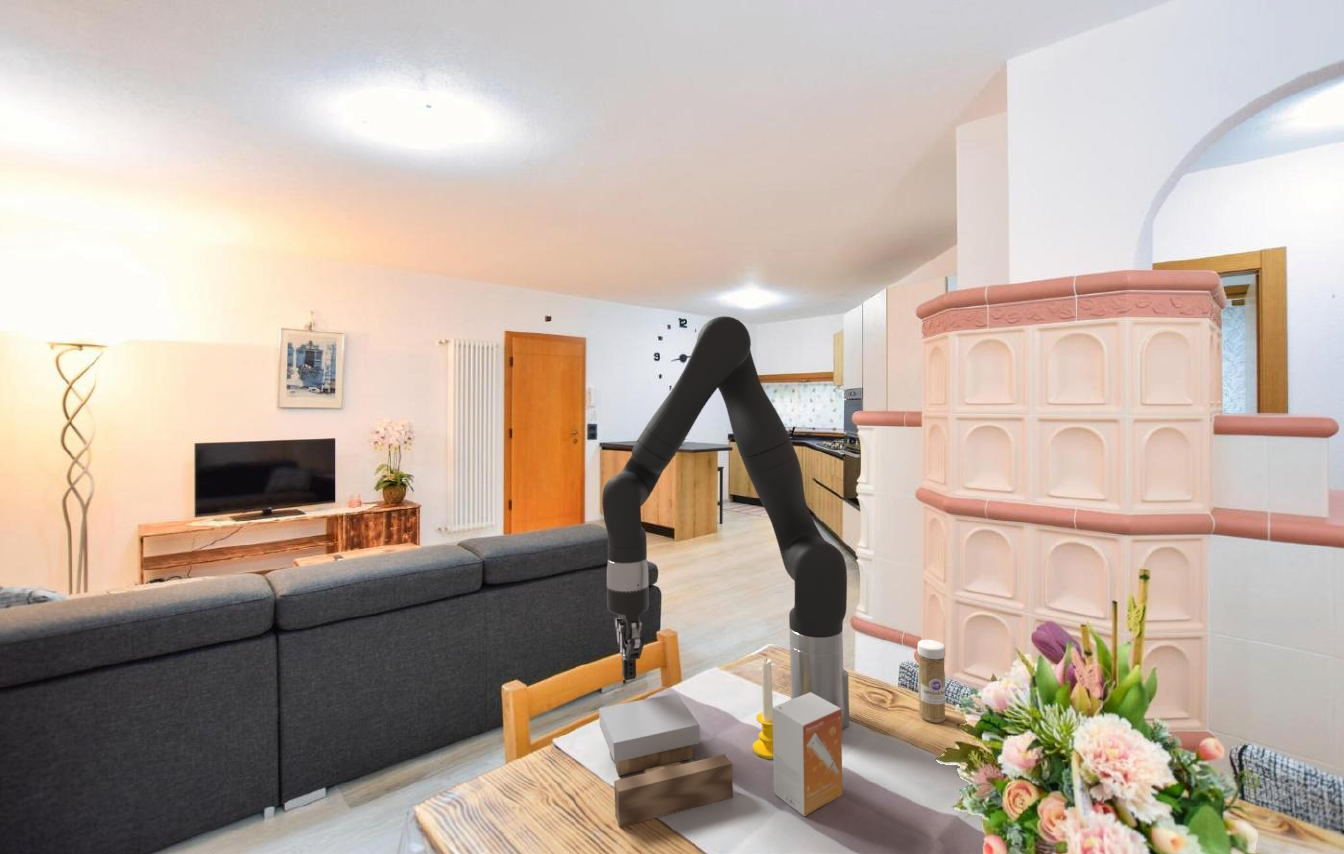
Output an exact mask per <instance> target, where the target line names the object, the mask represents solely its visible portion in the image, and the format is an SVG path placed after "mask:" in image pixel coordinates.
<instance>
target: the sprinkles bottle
mask: <svg viewBox="0 0 1344 854" xmlns="http://www.w3.org/2000/svg"><path fill="white" fill-rule="evenodd" d="M917 655H918V670H917V672H918V673H917V675H918V678H917V679H918V683H917V684H918V685H917V686H918V687H917V689H918V690H917V691H918V704H919V705H918V708H919V709H918V716H919V718H921V719H922V720H924V721H925V722H926V721H927V722H929V723H933V724H934V723H936V724H937V723H938V724H939V723H943V722H945V720H946V719H947V718H946V672H945V657H946V646H945V645H944V644H943V643H942V642H940V641H937V640H933V639H922V640H919V641H918V642H917Z"/></svg>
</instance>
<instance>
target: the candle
mask: <svg viewBox="0 0 1344 854" xmlns="http://www.w3.org/2000/svg"><path fill="white" fill-rule="evenodd" d="M761 662H762V663H761V689H762V690H761V693H762V694H761V695H762V697H761V699H762V712H760V713H757V715H756V717H755V718H756V721H757V722H758V723H760V724H761V731H760V732H759V733H758V739H757V740H756V741H754V742H753V744H752V750H753V753H754V754H755V755H756V756H758V757H760V758H762V759H766V760H773V710H772V708H773V707H774V704H773V702H774V701H773V700H774V699H773V698H774V697H773V671H772V660H771V659H770V658H767V657H765V659H763V660H762V661H761Z"/></svg>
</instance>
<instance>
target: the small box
mask: <svg viewBox="0 0 1344 854" xmlns="http://www.w3.org/2000/svg"><path fill="white" fill-rule="evenodd" d="M772 710H773V759H772V760H773V793H774V795H776V796H777V797H778V798H779V799H780V800H782V801H783V802H784V803H786V804H787V805H788V806H790V807H791V808H792V809H794V810H795V811H796V812H798V814H801V816H803V817H807V816H808V815H810V814H812V813H813V812H814V811H816V810H818V809H820V808H821V807H823V806H825V805H826V804H828V803H830V802H832V801H834V800H835V799H837V798H839V797H841V796H842V795H843V756H842V755H843V748H842V747H843V742H842V741H843V739H842V737H843V736H842V733H843V730H842V724H841V708H839V707H837V706H835V705H834V704H832V703H830V702H828V701H826V700H824V699H822V698H821V697H819V696H817V695H815V694H813V693H811V692H810V693H807V694H805V695H802V696H800V697H797V698H794V699H791V698H790V699H789V700H787V701H785V702H784V703H783V702H782V703H781V704H779V705H776V706H773V708H772Z"/></svg>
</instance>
